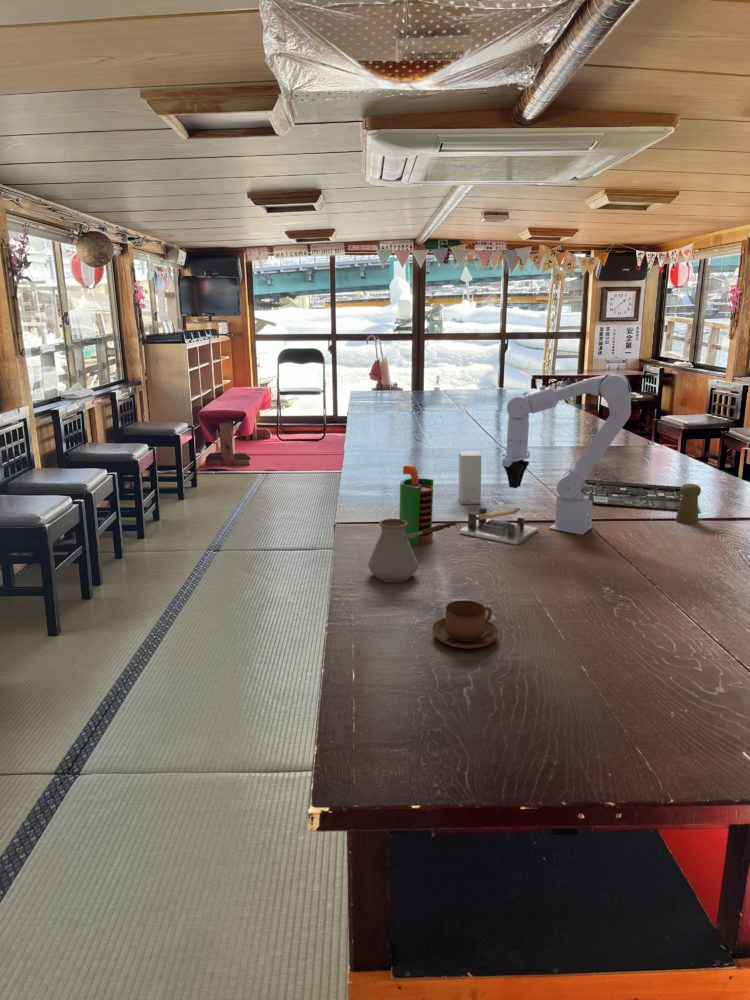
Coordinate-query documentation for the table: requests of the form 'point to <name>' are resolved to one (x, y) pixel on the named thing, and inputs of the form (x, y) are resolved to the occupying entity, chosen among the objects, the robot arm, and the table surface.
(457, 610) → the cup and saucer
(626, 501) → the laptop interior
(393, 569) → the coffee pot
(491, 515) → the wooden board
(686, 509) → the cork
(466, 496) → the skincare box
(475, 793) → the table surface
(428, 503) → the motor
